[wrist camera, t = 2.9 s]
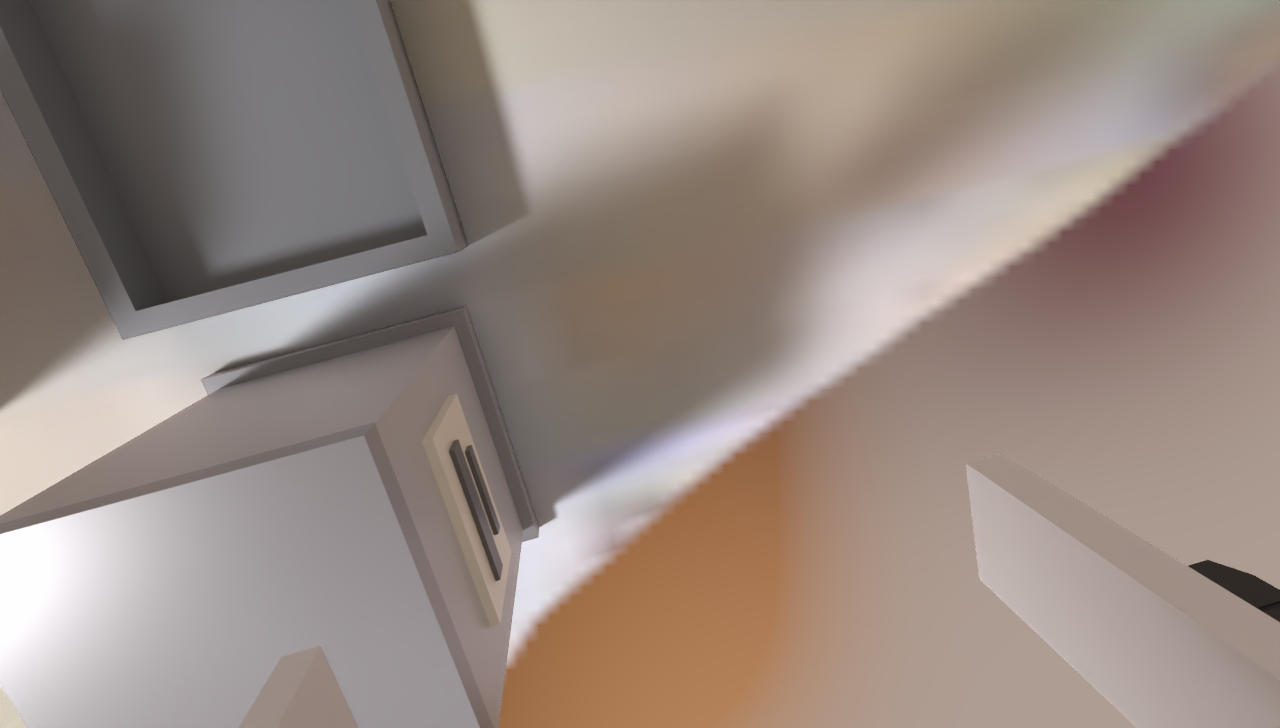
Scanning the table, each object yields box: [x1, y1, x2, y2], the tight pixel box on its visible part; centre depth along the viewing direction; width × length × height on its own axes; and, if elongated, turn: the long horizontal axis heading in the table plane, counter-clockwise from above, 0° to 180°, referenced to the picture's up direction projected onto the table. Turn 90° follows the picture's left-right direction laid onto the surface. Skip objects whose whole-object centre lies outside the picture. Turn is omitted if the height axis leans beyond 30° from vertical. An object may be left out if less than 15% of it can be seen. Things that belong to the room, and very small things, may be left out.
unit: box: [0, 307, 539, 728], centre depth 21 cm, size 10×10×13 cm
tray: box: [0, 0, 468, 340], centre depth 22 cm, size 12×15×2 cm
